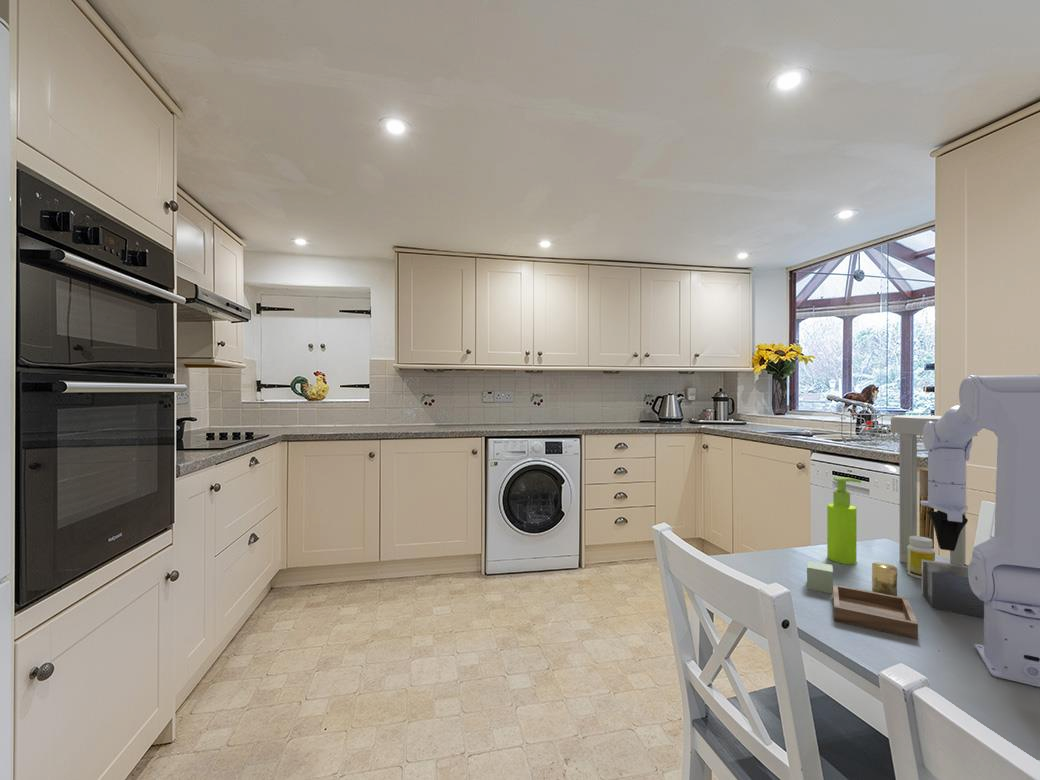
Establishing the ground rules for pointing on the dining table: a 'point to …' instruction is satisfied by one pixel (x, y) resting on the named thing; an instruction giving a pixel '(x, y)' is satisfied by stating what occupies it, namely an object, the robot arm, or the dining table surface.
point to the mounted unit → (950, 588)
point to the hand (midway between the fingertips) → (946, 549)
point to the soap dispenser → (841, 525)
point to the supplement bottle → (918, 554)
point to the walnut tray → (874, 611)
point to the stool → (915, 483)
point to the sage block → (820, 577)
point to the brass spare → (884, 578)
